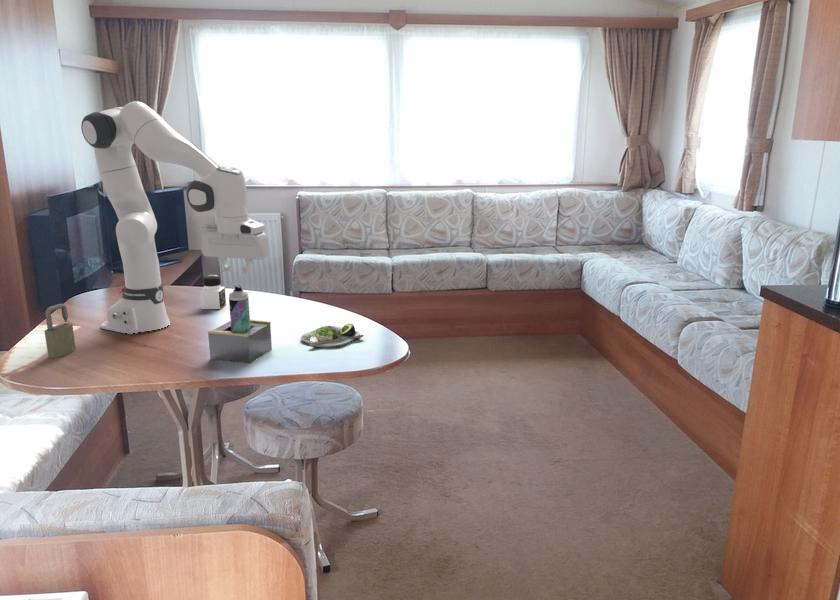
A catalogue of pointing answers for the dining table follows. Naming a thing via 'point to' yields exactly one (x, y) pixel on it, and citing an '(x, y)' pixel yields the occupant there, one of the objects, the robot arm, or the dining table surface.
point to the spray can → (239, 310)
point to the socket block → (240, 342)
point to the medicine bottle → (212, 293)
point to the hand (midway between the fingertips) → (236, 272)
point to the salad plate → (332, 336)
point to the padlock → (59, 334)
